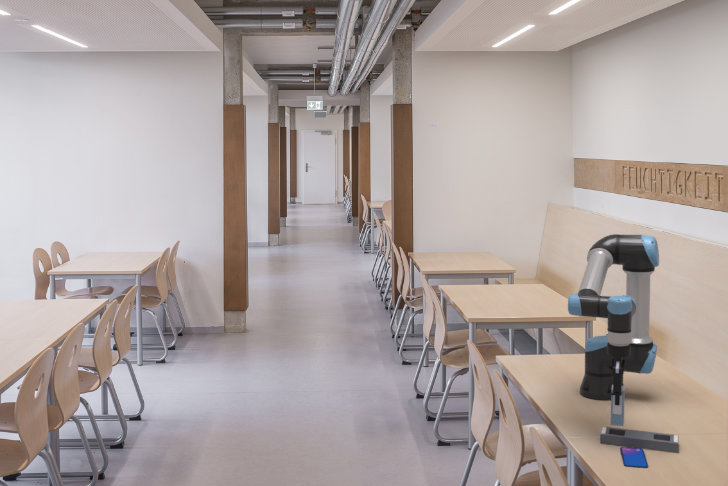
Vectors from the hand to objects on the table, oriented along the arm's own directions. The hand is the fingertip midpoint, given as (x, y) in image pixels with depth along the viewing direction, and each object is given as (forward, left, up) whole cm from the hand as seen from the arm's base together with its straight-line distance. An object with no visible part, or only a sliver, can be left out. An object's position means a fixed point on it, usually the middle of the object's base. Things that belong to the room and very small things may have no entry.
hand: (617, 411), depth 252 cm
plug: (0, 0, -4) cm, 4 cm away
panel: (0, +7, -10) cm, 12 cm away
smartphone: (+13, +6, -11) cm, 18 cm away
